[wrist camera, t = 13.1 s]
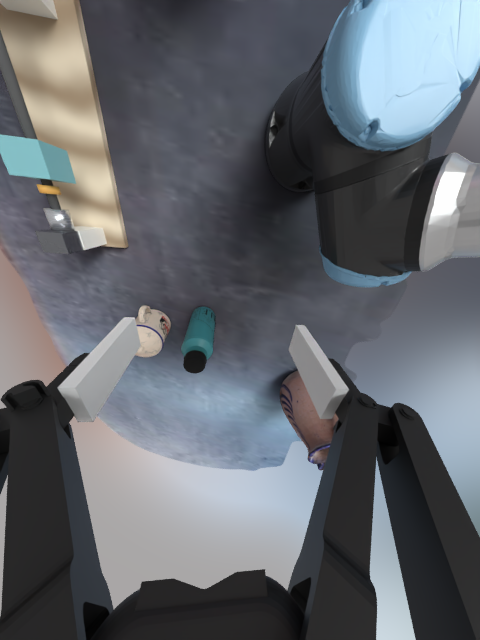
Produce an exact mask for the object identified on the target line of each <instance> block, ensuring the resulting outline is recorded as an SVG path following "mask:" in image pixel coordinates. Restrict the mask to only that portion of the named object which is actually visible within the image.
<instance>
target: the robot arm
mask: <svg viewBox="0 0 480 640" xmlns="http://www.w3.org/2000/svg"><path fill="white" fill-rule="evenodd" d="M479 66H480V0H351V1H350V2H349V4H348V6H347V7H345V8H344V10H343V11H342V13H341V14H340V15H339V17H338V19H337V21H336V22H335V24H334V26H333V29H332V31H331V32H330V36H329V38H328V39H327V41H326V43H325V44H324V46H323V48H322V50H321V51H320V53H319V55H318V56H317V58H316V60H315V61H314V63H313V65H312V67H311V68H310V70H309V71H308V72H305V73H303V74H302V75H300V76H298V77H297V78H296V79H295V80H293V81H292V82H291V83H290V84H289V85H288V86H287V88H286V89H285V90H284V91H283V93H282V94H281V96H280V97H279V99H278V101H277V103H276V105H275V107H274V109H273V111H272V113H271V116H270V119H269V122H268V126H267V131H266V138H265V151H266V158H267V162H268V166H269V168H270V171H271V173H272V175H273V176H274V178H275V179H276V180H277V182H278V183H279V184H280V185H282V186H283V187H284V188H286V189H288V190H291V191H294V192H305V191H310V190H313V189H314V190H315V202H316V211H317V221H318V230H319V239H320V246H319V251H320V254H321V256H322V261H323V267H324V270H325V272H326V273H327V274H328V275H329V277H330V278H332V279H333V280H335V281H337V282H339V283H342V284H345V285H350V286H355V287H378V286H380V284H383V285H392V284H395V283H398V282H400V281H402V280H404V279H406V278H407V277H408V276H409V275H410V273H411V272H412V271H428V270H429V269H431V268H433V267H434V266H436V265H438V264H439V263H441V262H443V261H444V260H447V259H450V258H455V257H480V163H479V164H478V163H472V162H470V161H469V160H467V159H465V158H464V157H462V156H461V155H459V154H458V153H452V154H449V155H445V156H442V157H439V158H435V159H432V160H429V153H430V145H431V139H432V133H433V130H434V129H435V128H436V127H437V126H438V125H439V124H440V123H441V122H442V121H443V120H444V119H445V118H447V116H448V115H449V114H450V113H451V112H452V111H453V110H454V108H455V107H456V106H457V104H458V103H459V101H460V100H461V97H460V94H461V93H462V92H463V90H465V89H466V88H467V87H468V86H469V85H470V84H471V83H472V81H473V79H474V77H475V75H476V73H477V71H478V68H479ZM140 346H141V344H140V339H139V335H138V330H137V326H136V321H135V318H131V317H124V318H123V319H122V320H121V321H120V322H119V323H118V324H117V325H116V326H115V327H114V329H113V330H112V331H111V332H110V333H109V334H108V335H107V336H106V337H105V338H104V339H103V340H102V341H101V342H100V343H99V344H98V345H97V346H96V348H95V349H94V350H93V351H92V352H91V353H84V354H82V355H80V356H79V357H77V358H75V359H74V360H73V361H72V362H71V363H70V364H69V366H67V367H66V368H65V369H64V370H63V372H61V373H60V374H59V375H58V376H57V377H56V378H55V379H54V380H53V381H52V382H51V383H50V384H49V385H48V386H47V387H46V386H45V385H44V383H43V382H42V381H40V380H30V381H27V382H23V383H21V384H19V385H17V386H14V387H13V388H11V389H9V390H8V391H7V392H6V393H5V394H4V395H3V396H2V398H1V401H2V402H3V403H4V404H5V405H6V407H7V408H3V409H0V494H1V491H2V488H3V486H4V483H5V480H6V478H7V475H8V485H7V506H6V527H5V548H4V569H3V590H2V610H1V617H0V640H376V622H377V598H376V592H375V588H374V586H373V584H372V582H371V580H370V571H369V570H370V551H371V535H372V518H373V502H374V501H373V500H374V485H375V484H374V483H375V468H376V457H377V461H378V466H379V470H380V475H381V480H382V484H383V489H384V494H385V498H386V503H387V508H388V512H389V517H390V522H391V526H392V531H393V536H394V540H395V545H396V550H397V554H398V559H399V564H400V568H401V573H402V578H403V582H404V587H405V591H406V596H407V600H408V605H409V610H410V615H411V619H412V624H413V629H414V633H415V638H416V640H480V537H479V535H478V533H477V531H476V529H475V527H474V525H473V523H472V521H471V519H470V517H469V515H468V513H467V511H466V509H465V506H464V504H463V502H462V500H461V498H460V496H459V494H458V492H457V490H456V488H455V486H454V484H453V482H452V480H451V478H450V476H449V474H448V471H447V470H446V467H445V465H444V464H443V461H442V459H441V457H440V455H439V453H438V451H437V449H436V447H435V445H434V443H433V441H432V439H431V437H430V435H429V433H428V430H427V428H426V426H425V424H424V422H423V420H422V418H421V417H420V415H419V414H418V413H417V412H416V411H414V410H413V409H412V408H410V407H409V406H407V405H404V404H401V403H395V404H394V405H393V406H392V407H391V408H390V407H386V406H383V405H379V404H377V403H376V402H375V401H374V400H373V399H372V398H371V397H369V396H368V395H366V394H363V393H360V391H359V390H358V389H357V387H356V386H355V385H354V383H353V382H352V381H351V379H350V378H349V377H348V375H347V374H346V373H345V371H343V369H342V367H341V366H340V364H339V363H337V362H336V361H335V360H334V359H328V358H327V357H326V355H325V354H324V353H323V351H322V350H321V348H320V347H319V345H318V344H317V342H316V341H315V340H314V338H313V337H312V335H311V334H310V332H309V331H308V330H307V328H306V327H305V325H296V327H295V330H294V334H293V337H292V340H291V344H290V347H289V352H290V354H291V356H292V358H293V360H294V363H295V365H296V367H297V369H298V371H299V373H300V376H301V378H302V380H303V382H304V384H305V387H306V389H307V391H308V393H309V395H310V398H311V400H312V402H313V404H314V406H315V408H316V411H317V413H318V415H319V417H320V419H332V418H333V416H334V414H335V413H336V415H337V417H338V421H337V422H336V424H335V425H334V427H333V430H334V433H333V437H332V441H331V444H330V448H329V452H328V455H327V459H326V463H325V466H324V470H323V474H322V477H321V481H320V485H319V489H318V492H317V495H316V499H315V503H314V506H313V510H312V514H311V518H310V521H309V525H308V528H307V532H306V536H305V539H304V543H303V547H302V550H301V553H300V556H299V558H298V560H297V562H296V565H295V567H294V570H293V573H292V576H291V580H290V584H289V587H288V590H285V588H284V587H283V586H281V585H280V584H279V583H278V582H277V581H275V580H273V579H272V578H270V577H268V576H265V570H254V571H243V572H236V573H234V574H232V575H231V576H229V577H227V578H225V579H223V580H222V581H220V582H218V583H216V584H215V585H213V586H211V587H209V588H207V589H200V588H198V587H195V586H192V585H190V584H187V583H184V582H181V581H178V580H176V579H165V580H155V581H145V582H142V583H141V588H140V589H139V590H138V591H136V592H134V593H133V594H132V595H130V596H129V597H127V598H126V599H125V600H124V601H123V602H122V603H120V604H119V605H118V606H117V607H116V608H115V609H114V610H113V605H112V601H111V596H110V592H109V589H108V586H107V583H106V581H105V579H104V576H103V574H102V571H101V568H100V562H99V558H98V553H97V549H96V543H95V538H94V534H93V529H92V524H91V519H90V514H89V510H88V505H87V500H86V495H85V491H84V486H83V481H82V476H81V471H80V466H79V462H78V457H77V452H76V447H75V442H74V438H73V433H72V428H71V425H70V424H69V422H70V420H71V419H72V418H73V416H75V418H76V420H77V421H78V422H93V421H94V420H95V418H96V417H97V415H98V413H99V412H100V410H101V409H102V407H103V405H104V404H105V402H106V401H107V399H108V397H109V396H110V394H111V393H112V391H113V389H114V388H115V386H116V385H117V383H118V381H119V380H120V378H121V377H122V375H123V373H124V372H125V370H126V369H127V367H128V365H129V364H130V362H131V361H132V359H133V357H134V356H135V354H136V353H137V351H138V349H139V348H140Z"/></svg>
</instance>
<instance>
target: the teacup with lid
mask: <svg viewBox="0 0 480 640" xmlns="http://www.w3.org/2000/svg"><path fill="white" fill-rule="evenodd" d="M135 321H136V326H137V330H138V335H139V339H140V344H141V346H140V348H139V349H138V351H137V353H136V354H135V355H136V356H140V357H151V356H154V355H156V354H158V353H159V352H160V351H161V350H162V348H163V343H164V341H165V339H166V337H167V335H168V333H169V330H170V328H171V323H170V320H169V318H168V317H167V316H166V315H165V314H164V313H163V312H161V311H158V310H154V309H150V307H149V306H145V305H144V306H142V307H141V308H140V309H139V313H138V317H137V318H136V319H135Z"/></svg>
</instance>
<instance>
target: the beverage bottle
mask: <svg viewBox="0 0 480 640" xmlns="http://www.w3.org/2000/svg"><path fill="white" fill-rule="evenodd" d="M215 317H216V315H215V314H214V312H213V311H212V310H211V309H210V308H208V307H198V308H197V309H195V310H194V311H193V313H192V316H191V318H190V320H189V326H188V330H187V333H186V336H185V339H184V342H183V344H182V347H181V351H182V354H183V355H184V364H183V365H184V368H185V370H186V371H188V372H190V373H199V372H201V371H203V369H204V368H205V364H206V361H207V359H209V358H210V357H211V355H212V353H213V340H214V332H215V331H214V329H215V325H216V323H215Z"/></svg>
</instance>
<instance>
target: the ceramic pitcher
mask: <svg viewBox="0 0 480 640" xmlns="http://www.w3.org/2000/svg"><path fill="white" fill-rule="evenodd" d="M280 402H281V405H282V408H283V411H284V413H285V415H286V417H287V418H288V420H289V422H290V424H291V425H292V427H293V428H294V430H295V431H296V433H297V435H298V437H299V438H300V439H301V440H302V441H303V442H304V444H305V445H306V447H307V448H308V452H309V455H308V461H309V462H311V463H313V464H317V465H318V469H319V470H324V466H325V463H326V459H327V455H328V452H329V448H330V444H331V441H332V437H333V433H334V430H333V427H334V425H335V424H336V422H337V421H338V417H337V415H336V413H335V414H334V416H333V418H332V419H320V417H319V415H318V413H317V411H316V408H315V406H314V404H313V402H312V400H311V398H310V395H309V393H308V391H307V389H306V387H305V384H304V382H303V380H302V378H301V376H300V373H299V371H295V372H293V373H292V374H290V375H289V376H288V377H287V378H286V379H285V380H284V381H283V383H282V385H281V388H280Z"/></svg>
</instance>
